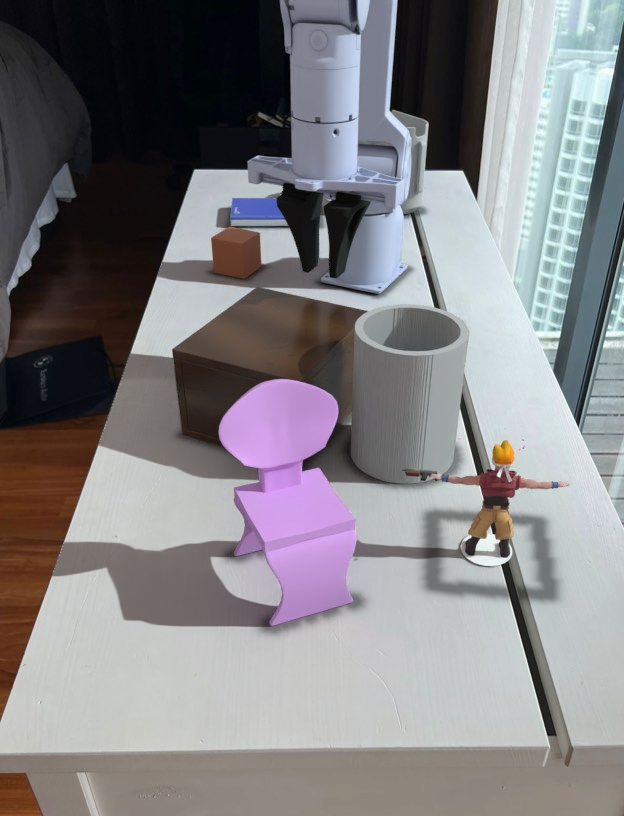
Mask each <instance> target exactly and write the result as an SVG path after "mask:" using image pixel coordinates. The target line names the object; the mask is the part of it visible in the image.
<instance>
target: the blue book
mask: <svg viewBox="0 0 624 816" xmlns="http://www.w3.org/2000/svg"><path fill="white" fill-rule="evenodd" d="M229 220H230V227H289V226H288V224H287V222H286V220H285V218H284V217H283V215H282V213H281V212H280V210H279V208H278V207H277V197H232V198H231V209H230V219H229ZM320 226H321V225H319V227H320Z"/></svg>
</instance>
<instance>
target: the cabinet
mask: <svg viewBox="0 0 624 816" xmlns="http://www.w3.org/2000/svg"><path fill="white" fill-rule="evenodd" d="M368 311H369V310H366V309H360V308H356V307H352V306H347V305H342V304H338V303H333V302H328V301H323V300H319V299H316V298H315V299H314V298H310V297H306V296H301V295H297V294H292V293H287V292H283V291H278V290H273V289H270V288H265V287H260V286H256V287H255V288H254V289H251V291H250V292H248V293H246V294H245V295H244V296H242V297H241V298H239V300H237V301H236V302H234V303H233V304H231V305H230V306H229V307H227V308H226V309H225V310H223V311H222V312H221V313H220V314H218V315H217V316H215V317H213V318H212V319H211V320H210V321H209V322H207V323H206V324H204V325H203V326H202V327H200V328H199V329H198V330H196V331H195V332H193V333H192V334H191V335H189V336H188V337H186V338H185V339H183V341H181V342H180V343H178V344H177V345H176V346H174V347H173V348H172V349H171V352H172V353H171V354H172V362H173V370H174V378H175V388H176V395H177V402H178V412H179V419H180V427H181V428H180V429H181V435H182V436H184V437H188V438H191V439H194V440H198V441H202V442H205V443H208V444H211V445H216V446H217V447H222V448H225V447H224V446H223V445H222V443H221V441H220V439H219V433H218V432H219V425H220V422H221V420H222V418H223V416H224V415H225V414H226V412H227V411H228V410H229V409H230V408H231V406H232V405H233V404H234V403H235V402H236V401H237V400H238V399H239V398H240V397H242V396H243V395H244V394H245V393H246V392H248V391H249V390H250V389H251V388H253V387H255V386H256V385H258V384H260V383H262V382H266V381H270V380H275V379H289V380H294V381H299V382H303V383H307V384H310V385H313V386H316V387H318V388H320V389H322V390H325V391H326V392H328V393H329V394H331V395H332V396H333V397H334V399H335V400H336V401H337V404H338V417H337V421H336V424H335V426H334V429H333V431H332V433H331V435H332V434H333V433H335V431H336V430H337V429H338V428H339V426H340V425H342V423H343V422H344V421H345V420H346V418H347V417H348V416H349V415H350V414H352V394H353V362H354V329H355V323H356V321H357V319H358V318H359V317H361V316H362V315H363V314H364V313H366V312H368ZM312 457H313V455H311V456H310V457H308V458H306V459H304V460H303V463H302V468H303V467H304V466H305V465H306V463H307V462H308V461H309V460H310V459H311V458H312Z"/></svg>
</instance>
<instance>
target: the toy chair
mask: <svg viewBox="0 0 624 816" xmlns="http://www.w3.org/2000/svg"><path fill="white" fill-rule="evenodd" d="M337 417H338V404H337V401H336V400H335V399H334V397H333V396H332V395H331V394H329V393H328V392H326V391H325V390H322V389H320V388H318V387H316V386H313V385H310V384H307V383H303V382H299V381H294V380H289V379H275V380H270V381H266V382H262V383H260V384H258V385H256V386H255V387H253V388H251V389H250V390H249V391H248V392H246V393H245V394H244V395H243V396H242V397H240V398H239V399H238V400H237V401H236V402H235V403H234V404H233V405H232V406H231V408H230V409H229V410H228V411H227V412H226V414H225V415H224V416H223V418H222V420H221V422H220V425H219V432H218V433H219V439H220V441H221V443H222V445H223V446H224V447H223V448H224V449H225V450H226V451H227V452H229V453H230V455H232V456H233V457H234V458H235V459H237V460H238V461H239V462H240V463H241V464H242V465H243V466H244V467H249V468H256V469H257V473H258V482H257V481H256V482H251V483H248V484H243V485H238V486H234V487H233V496H234V497H233V503H234V505H235V507H236V509H237V510H238V512H239V513H240V514H241V516H242V518H243V523H244V529H243V533H242V536H241V538H240V540H239V542H238V544H237V546H236V548H235V549H234V552H233V555H234V557H239V556H243V555H247V554H251V553H255V552H258V551H262V552H263V554H264V557H265V561H266V563H267V566H268V567H269V569H270V570H271V572H272V573H273V575H274V576H275V578H276V579H277V581H278V583H279V586H280V589H281V598H280V602H279V605H278V606H277V609H276V610H275V612H274V614H273V615H272V616H271V619H270V620H269V621H268V624H269V625H270V626H271V627H273V626H276V625H279V624H283V623H287V622H291V621H294V620H297V619H301V618H304V617H307V616H311V615H314V614H318V613H321V612H324V611H325V612H326V611H328V610H333V609H334V608H338V607H342V606H345V605H348V604H351V603H353V602H354V599H353V597H352V595H351V593H350V590H349V587H348V581H347V577H348V572H349V571H348V570H349V567H350V564H351V560H352V558H353V555H354V552H355V548H356V545H357V539H358V537H357V531H356V517H355V516H354V515H353V513H352V512H351V510H350V509H349V508H348V506H347V504H346V503H344V501H342V499H341V498H340V496H339V495H338V494H337V492H336V490H335V489H334V487H333V486H332V484H331V483H330V482H329V480H328V478H327V477H326V476H325V474H324V473H323V471H322V470H321V468H320V467H316V468H312V469H308V470H303V467H302V463H303V460H304V459H306V458H308V457H310V456H311V455H312V456H314V455H315V454H317V453H318V452H320V451H322V450H323V449H324V448H325V447H326V446H327V443H328V441H329V439H330V437H331V435H332V434H333V433H332V431H333V429H334V426H335V424H336V421H337ZM331 433H332V434H331Z"/></svg>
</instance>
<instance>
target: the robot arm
mask: <svg viewBox="0 0 624 816" xmlns="http://www.w3.org/2000/svg"><path fill="white" fill-rule="evenodd" d="M279 5H280V13H281V18H282V23H283V24H282V25H283V34H284V47H285V53H286V54H289V66H290V67H289V69H290V70H289V71H290V77H289V78H290V128H291V129H290V132H291V134H290V135H291V138H290V139H291V157H277V156H264V155H256V156H254V157H253V158H250V159H249V160H247V162H246V163H247V179H248V180H247V181H248V183H249V184H253V185H260V184H262V183H263V184H269V185H274V186H279V187H282V190H281V194H280V195H278V196H277V197H276V198H277V207H278V208H279V210H280V212H281V213H282V215H283V217H284V218H285V220H286V222H287V224H288V226H287V227H288V229H289V231H290V233H291V235H292V239H293V242H294V243H295V247H296V250H297V254H298V259H299V261H300V267H301V270H302V272H303V273H307V274H310V273H311V272H313V271H314V269H316V268H317V267H318V266H319V261H320V226H321V225H320V224H321V215H322V207H323V214H324V217H325V222H326V228H327V237H328V272H327V273H325V274H324V275H323V276H322V277H321V278H320V282H321V283H323V284H329V285H333V286H339V287H341V288H347V289H352V290H357V291H362V292H366V293H371V294H375V295H379V294H382V293H383V292H384V291H385V290H386V289H387V288H388V287H389V286H390V285H391V284H392V283H393V282H394V281H395V280H397V279H398V278H399V277H400V276H401V275H402V274H403V273H404V272H405V271H406V270H407V269H408V268H409V266H408V264H407V263H405V262H402V254H403V253H402V251H403V239H404V238H403V237H404V224H405V223H404V222H405V217H404V214H403V211H402V209H401V207H400V205H402V204H403V203H404V202H405V201H406V199H407V196H408V191H409V185H410V176H411V141H412V139H411V137H410V133H409V131H408V129H407V128H406V127H405V126H404V125H403V124H402V123H401V122H400V121H399V120H398V119H397V118H396V117H395V116H393V114H392V113H391V111H390V108H391V97H392V95H391V94H392V81H393V69H394V68H393V67H394V53H395V40H396V38H395V37H396V26H397V12H398V0H279ZM358 140H366V141H380V142H387V143H390V144H392V145H393V146H385V145H371V144H358ZM324 197H325V199H327V200H330V201H329V202H327V203H325V204H324V205H323V199H324ZM319 225H320V226H319Z"/></svg>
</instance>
